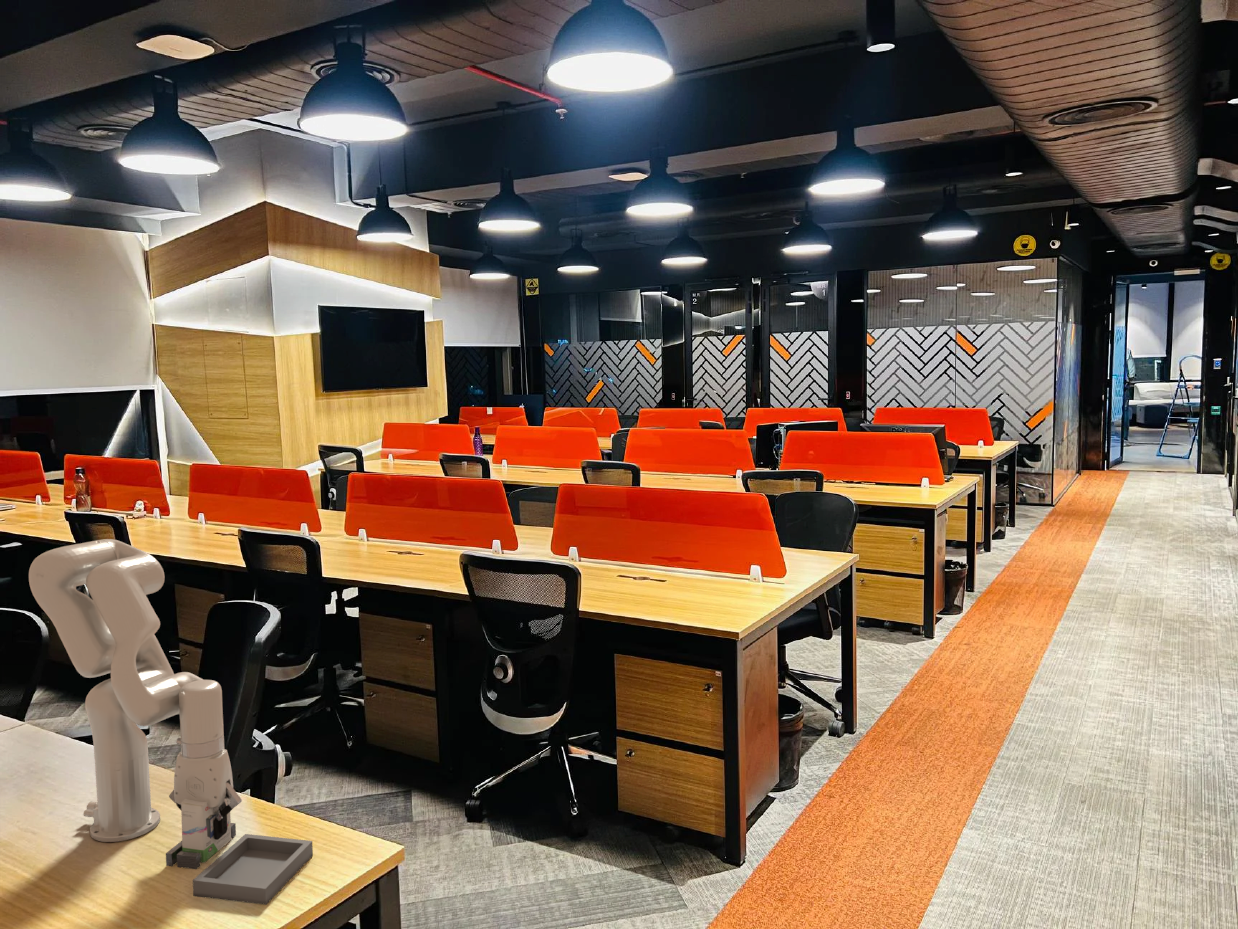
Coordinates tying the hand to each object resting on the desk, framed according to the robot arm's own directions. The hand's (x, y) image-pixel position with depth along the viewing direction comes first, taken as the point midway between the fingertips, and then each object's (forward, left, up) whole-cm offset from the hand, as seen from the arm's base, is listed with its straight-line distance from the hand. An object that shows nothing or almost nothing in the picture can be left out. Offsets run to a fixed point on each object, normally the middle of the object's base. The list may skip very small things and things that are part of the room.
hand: (206, 833), depth 175 cm
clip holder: (-1, 0, -3) cm, 4 cm away
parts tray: (+14, -6, -3) cm, 16 cm away
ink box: (0, 0, -4) cm, 4 cm away
